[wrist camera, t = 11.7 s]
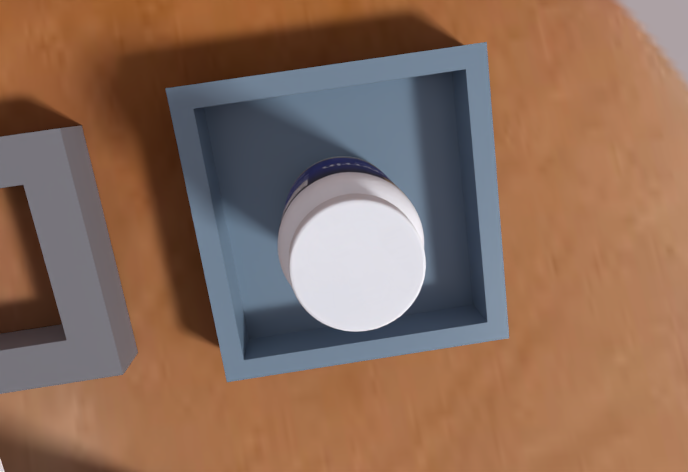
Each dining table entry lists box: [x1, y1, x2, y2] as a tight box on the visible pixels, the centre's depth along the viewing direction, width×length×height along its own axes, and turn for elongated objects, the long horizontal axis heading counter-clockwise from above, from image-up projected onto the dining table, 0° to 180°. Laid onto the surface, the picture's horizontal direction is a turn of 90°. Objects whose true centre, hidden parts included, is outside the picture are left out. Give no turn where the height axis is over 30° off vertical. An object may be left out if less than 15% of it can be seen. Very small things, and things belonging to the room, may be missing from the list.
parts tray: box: [165, 42, 509, 382], centre depth 28 cm, size 14×14×3 cm
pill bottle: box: [278, 156, 426, 332], centre depth 24 cm, size 6×6×10 cm
